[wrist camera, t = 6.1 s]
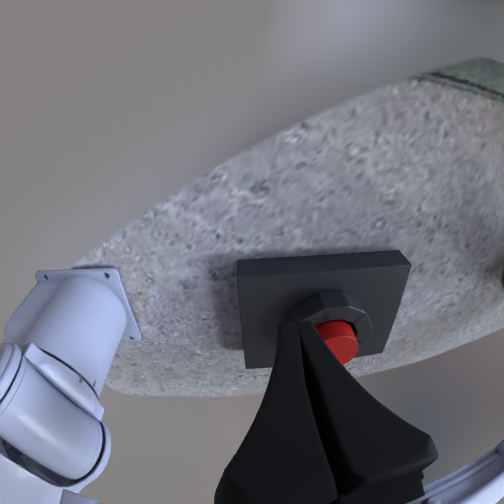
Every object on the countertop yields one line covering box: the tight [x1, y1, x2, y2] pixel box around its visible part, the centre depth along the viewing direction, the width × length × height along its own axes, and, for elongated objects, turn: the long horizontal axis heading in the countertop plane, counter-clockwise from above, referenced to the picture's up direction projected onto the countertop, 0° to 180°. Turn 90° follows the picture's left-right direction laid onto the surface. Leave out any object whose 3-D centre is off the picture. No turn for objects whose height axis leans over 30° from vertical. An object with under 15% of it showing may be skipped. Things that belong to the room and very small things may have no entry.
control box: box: [237, 250, 411, 369], centre depth 21 cm, size 13×10×4 cm
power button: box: [315, 320, 358, 365], centre depth 19 cm, size 4×4×2 cm
